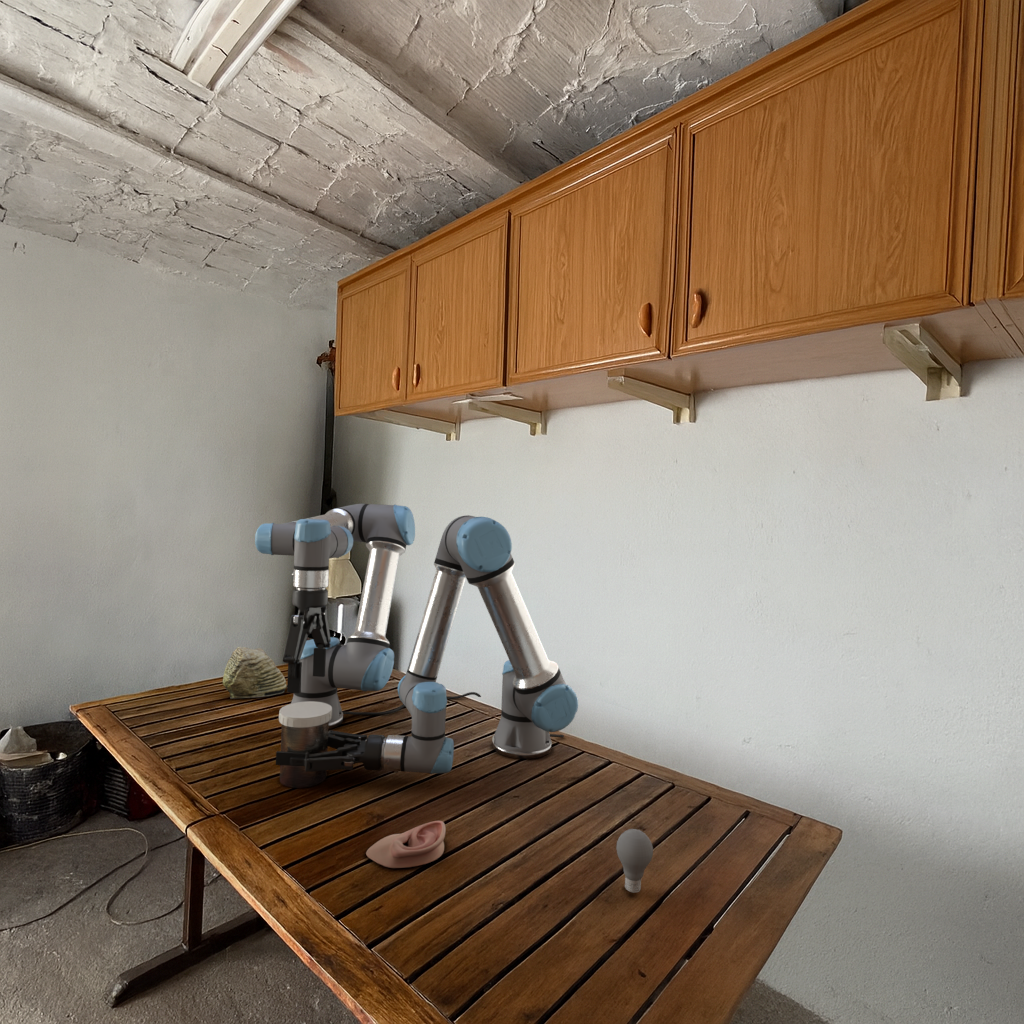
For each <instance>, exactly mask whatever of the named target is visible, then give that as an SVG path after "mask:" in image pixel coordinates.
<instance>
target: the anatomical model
mask: <svg viewBox="0 0 1024 1024" xmlns="http://www.w3.org/2000/svg"><path fill="white" fill-rule="evenodd" d="M446 830H447V829H446V824H445V822H444V821H443V820H434V821H429V822H426V823H423V824H420V825H417V826H416V827H413V828H411V829H408V830H406V831H404V832H402V833H394V834H389V835H387V836H384V837H383V838H381V839H379V840H378V841H376V842H375V843H374V844H372V845H371V846H370V847H369V848H367V850H366V851H365V854H366V855H365V856H367V858H369V860H370V861H371V860H372V861H373V862H375V863H377V864H378V865H381V866H383V867H385V868H390V869H403V868H412V867H418V866H422V865H426V864H429V863H431V862H434V861H436V860H438V859H439V858H440V857H442V856H443V854H444V851H445V842H444V839H445V837H446V833H447V832H446Z"/></svg>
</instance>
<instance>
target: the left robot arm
mask: <svg viewBox="0 0 1024 1024" xmlns="http://www.w3.org/2000/svg"><path fill="white" fill-rule="evenodd" d="M415 538H416V523H415V519H414V514H413V512H412V510H411V508H410V507H408V506H406V505H397V504H380V503H379V504H377V503H355V504H349V505H344V506H340V507H336V508H333V509H329V510H328V511H327V512H326V513H325V514H321V515H316V516H312V517H311V516H310V517H307V518H300V519H298V520H294V521H293V520H292V521H290V522H283V523H275V522H270V523H266V522H265V523H261V524H260V525H259V526H258V528H257V529H256V532H255V536H254V544H255V548H256V550H257V551H258V552H259V553H261V554H264V555H265V554H266V555H270V556H274V555H275V556H291V557H292V556H294V557H293V559H294V560H293V572H292V573H291V576H292V577H293V579H292V581H293V583H292V587H294V589H293V590H292V598H291V599H292V604H291V605H292V606H293V607H295V608H298V612H297V614H291V616H290V619H289V628H288V634H287V638H286V643H285V647H284V651H283V655H282V662H283V663H286V664H287V680H286V685H287V687H286V693H288V694H289V693H290V694H293V695H292V696H293V697H292V699H291V702H290V704H292V703H297V702H307V701H314V702H323V703H326V704H329V705H330V706H331V707H332V718H331V720H330V721H329V727H328V731H330V730H332V729H335V728H337V727H339V726H340V725H342V723H343V722H344V715H351V716H384V715H390V714H393V713H397V712H398V711H400V710H402V709H404V708H406V706H405V705H404V704H403V703H402V705H400V706H398V707H396V708H395V709H392V710H391V709H390V710H386V711H375V712H373V711H371V712H370V711H343V709H342V706H341V702H340V699H339V695H338V689H342V690H343V689H345V690H352V691H353V690H354V691H355V690H356V691H362V692H379V691H381V690H382V689H384V687H385V686H386V685H387V684H388V682H389V680H390V678H391V675H392V673H393V670H394V666H395V665H394V664H395V652H394V650H393V649H391V648H390V645H391V644H390V641H389V639H387V637H386V634H387V629H388V624H389V617H390V612H391V606H392V600H393V595H394V588H395V583H396V577H397V571H398V565H399V559H400V556H403V554H405V553H406V549H407V546H412V545H413V544H414V541H415ZM354 542H357V543H365V547H366V548H367V550H368V551H369V555H368V560H367V564H366V565H367V566H366V570H365V574H364V575H365V576H364V581H363V585H362V586H363V587H362V592H361V595H360V596H361V597H360V602H359V608H358V612H357V618H356V623H355V628H354V632H353V633H352V634H350V635H349V636H348V637H347V641H346V644H341V641H340V639H339V638H338V637H334V636H331V633H330V632H331V631H330V627H329V619H328V606H327V605H328V597H329V590H328V589H327V588H328V587H329V582H330V581H329V580H330V579H329V576H330V559H338V558H342V557H343V556H345V555H348V553H350V552H351V551H352V548H353V546H354ZM310 635H311V636H312V639H308V637H309V636H310ZM472 695H473V696H476V697H478V698H481V697H482V695H481V694H480V693H478V692H475V691H470V692H466V693H464V694H460V695H454V696H446V697H447V700H457V699H458V700H459V699H463V698H465V697H468V696H472Z"/></svg>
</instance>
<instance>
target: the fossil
mask: <svg viewBox="0 0 1024 1024" xmlns="http://www.w3.org/2000/svg"><path fill="white" fill-rule="evenodd" d="M222 676H223V677H222V685H223V687H224V688H225V690H226V691H228V693H229V698H230V699H250V698H264V697H271V696H275V695H281V694H284V693H285V691H287V680H286V678H285V676H284V674H283V673H282V672H281V669H279V668H278V667H277V665H276V663H275V662H274V660H273V659H272V658H271V657H270V656H269V655H268V654H267V653H266V652H265V650H264V649H263V648H260V647H258V648H251V647H247V646H246V647H245V646H238V647H237V648H236V649H235V650H233V651H232V653H231V656H230V657H229V659H228V660H227V663H226V666H225V668H224V671H223V675H222Z"/></svg>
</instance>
